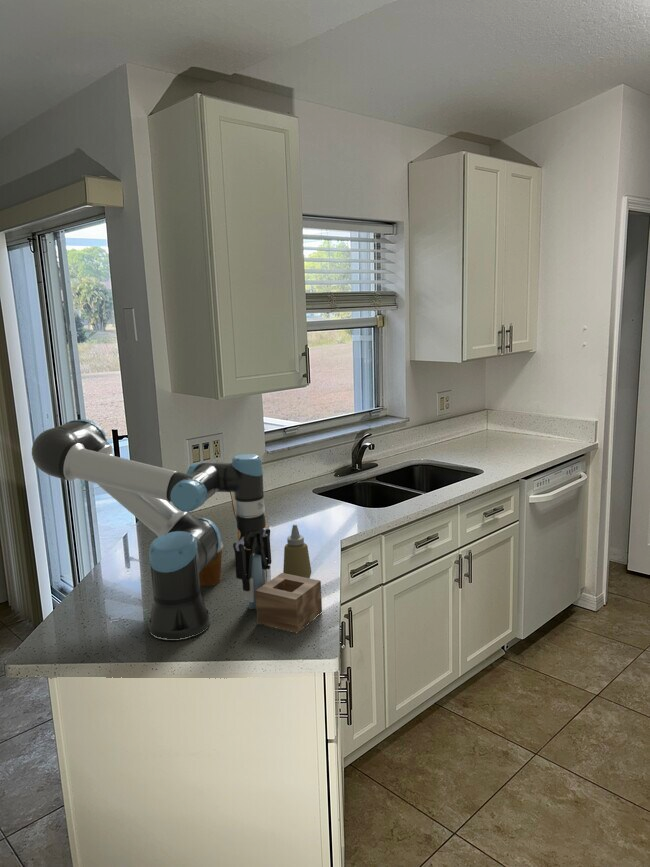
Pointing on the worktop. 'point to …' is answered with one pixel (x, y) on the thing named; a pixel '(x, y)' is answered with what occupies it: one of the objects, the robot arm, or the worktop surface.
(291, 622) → the socket block
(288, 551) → the squeeze bottle
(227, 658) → the worktop surface
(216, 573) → the disposable coffee cup
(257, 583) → the dowel
